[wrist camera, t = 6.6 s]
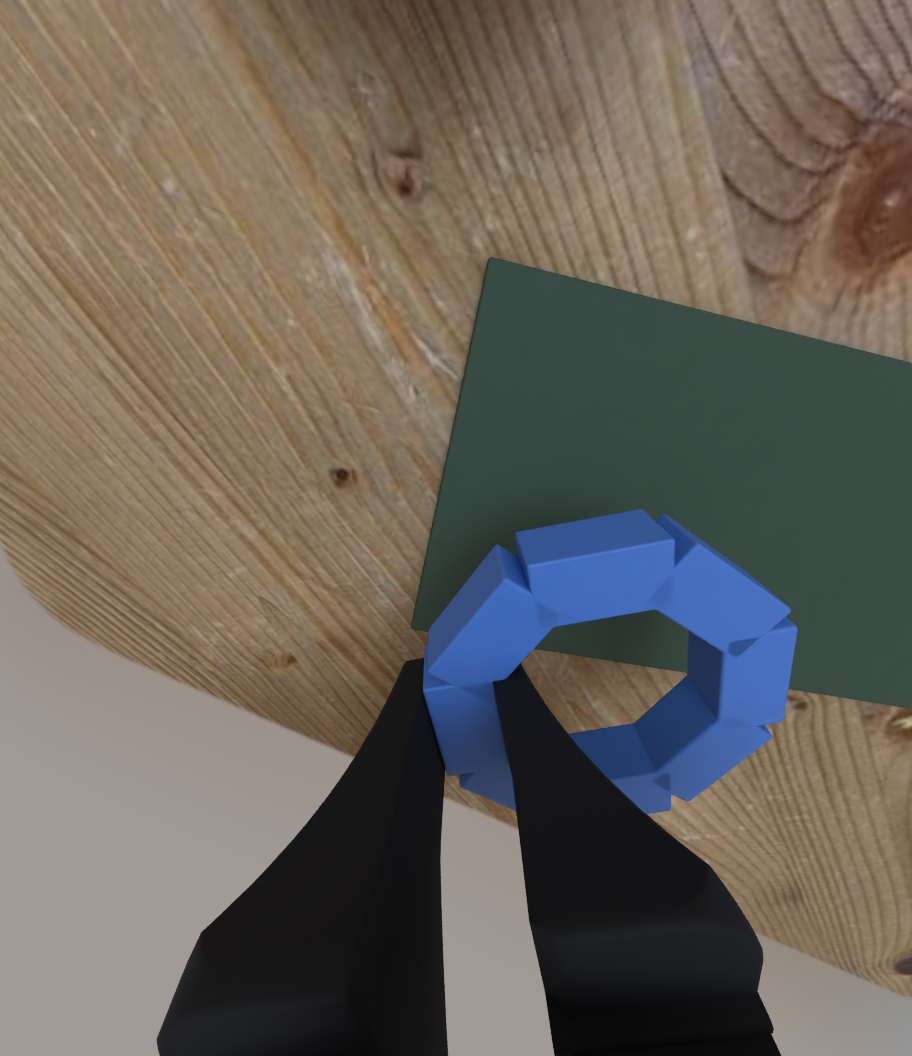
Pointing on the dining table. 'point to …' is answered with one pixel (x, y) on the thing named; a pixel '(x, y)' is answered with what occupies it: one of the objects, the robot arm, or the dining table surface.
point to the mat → (688, 467)
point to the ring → (601, 592)
